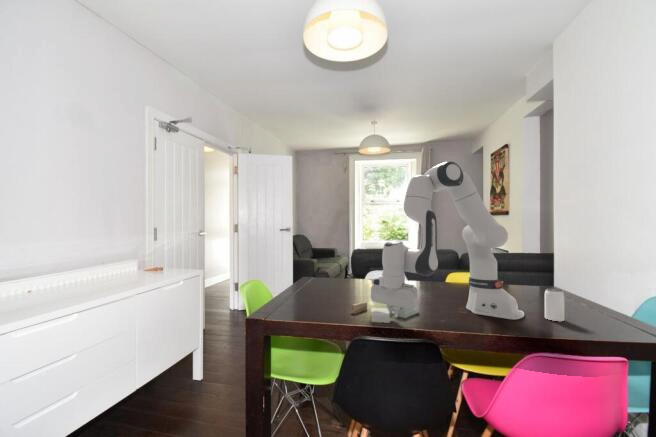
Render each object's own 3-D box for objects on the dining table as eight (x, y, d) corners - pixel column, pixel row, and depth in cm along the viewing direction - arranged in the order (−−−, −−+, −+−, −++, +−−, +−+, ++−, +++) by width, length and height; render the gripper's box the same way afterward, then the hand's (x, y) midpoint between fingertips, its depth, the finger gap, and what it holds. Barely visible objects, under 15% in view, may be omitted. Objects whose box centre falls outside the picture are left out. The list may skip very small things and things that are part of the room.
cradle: (418, 312, 134) (418, 302, 134) (404, 318, 126) (404, 307, 126) (402, 308, 140) (402, 298, 140) (388, 314, 132) (388, 303, 132)
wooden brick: (366, 310, 138) (367, 302, 138) (355, 313, 132) (355, 305, 132) (363, 309, 139) (363, 301, 139) (351, 312, 133) (351, 304, 133)
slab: (389, 323, 120) (389, 315, 120) (371, 322, 121) (371, 314, 121) (388, 315, 130) (388, 308, 130) (371, 314, 131) (371, 307, 131)
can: (559, 323, 120) (558, 292, 121) (541, 318, 126) (541, 289, 126) (567, 320, 123) (567, 290, 124) (550, 316, 129) (549, 287, 129)
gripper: (421, 284, 118) (421, 320, 118) (377, 277, 132) (377, 309, 132) (412, 286, 113) (413, 324, 113) (368, 279, 128) (368, 313, 128)
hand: (393, 316), depth 123 cm, fingers closed
